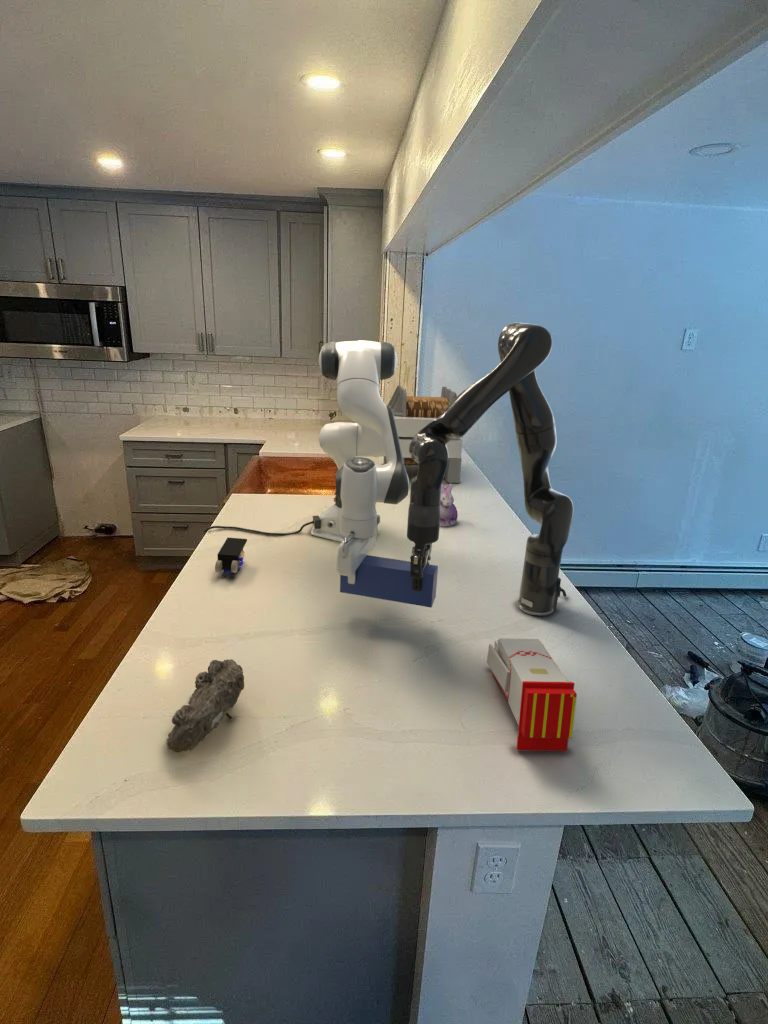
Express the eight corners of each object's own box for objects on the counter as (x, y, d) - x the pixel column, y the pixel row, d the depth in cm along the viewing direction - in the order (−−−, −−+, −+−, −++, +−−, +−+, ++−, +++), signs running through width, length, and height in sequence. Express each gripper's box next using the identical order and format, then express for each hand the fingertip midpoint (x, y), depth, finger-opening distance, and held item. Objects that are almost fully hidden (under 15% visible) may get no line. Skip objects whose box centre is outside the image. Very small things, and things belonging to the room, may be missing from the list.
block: (339, 592, 142) (340, 560, 139) (347, 582, 147) (347, 551, 144) (431, 607, 136) (433, 575, 133) (435, 597, 141) (438, 565, 138)
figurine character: (238, 584, 162) (249, 557, 175) (236, 562, 158) (247, 536, 172) (215, 584, 161) (227, 556, 175) (212, 561, 158) (225, 535, 171)
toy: (536, 621, 128) (586, 689, 98) (531, 676, 131) (578, 758, 101) (482, 620, 127) (517, 688, 98) (478, 675, 130) (511, 757, 101)
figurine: (442, 528, 206) (446, 489, 201) (428, 519, 214) (431, 481, 209) (464, 525, 210) (468, 486, 205) (449, 516, 218) (452, 479, 213)
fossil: (192, 660, 117) (244, 628, 112) (224, 691, 120) (276, 661, 115) (142, 746, 98) (202, 712, 93) (182, 779, 101) (242, 748, 96)
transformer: (382, 463, 289) (386, 382, 275) (445, 464, 293) (451, 384, 279) (390, 482, 257) (394, 392, 243) (460, 483, 261) (468, 394, 247)
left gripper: (356, 543, 127) (355, 597, 132) (382, 513, 146) (380, 562, 150) (330, 538, 129) (329, 593, 133) (358, 510, 147) (357, 559, 152)
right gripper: (433, 532, 125) (428, 601, 131) (445, 512, 138) (440, 574, 144) (400, 528, 127) (397, 595, 132) (415, 508, 140) (411, 570, 145)
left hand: (356, 576), depth 142 cm, fingers closed on block, 5 cm apart
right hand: (419, 584), depth 138 cm, fingers closed on block, 5 cm apart
